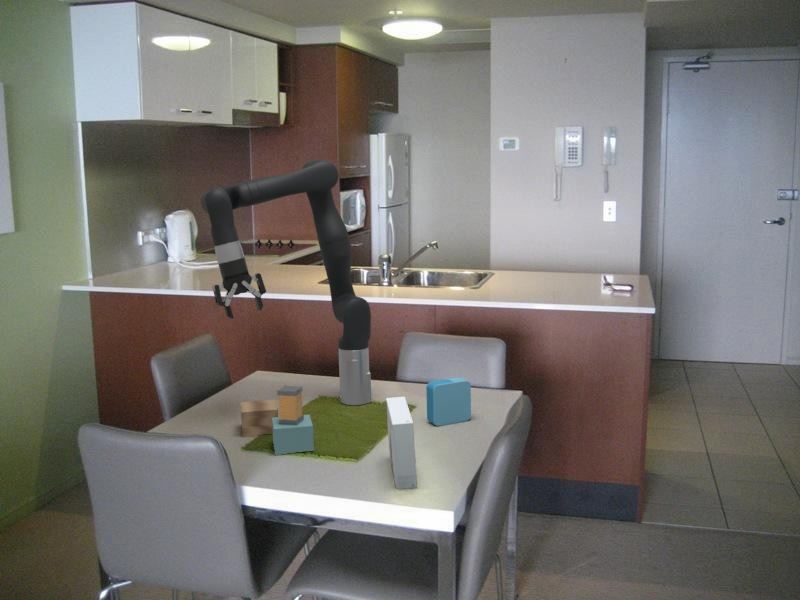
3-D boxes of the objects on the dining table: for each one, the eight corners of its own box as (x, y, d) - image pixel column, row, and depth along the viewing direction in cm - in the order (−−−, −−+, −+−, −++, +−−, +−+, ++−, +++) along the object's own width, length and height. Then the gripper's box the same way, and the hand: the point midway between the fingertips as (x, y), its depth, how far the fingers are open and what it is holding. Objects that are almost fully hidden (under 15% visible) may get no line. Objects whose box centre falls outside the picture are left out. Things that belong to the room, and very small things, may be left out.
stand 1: (277, 422, 246) (275, 399, 244) (279, 433, 236) (277, 409, 235) (241, 425, 244) (240, 402, 242) (242, 437, 234) (240, 412, 233)
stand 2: (310, 439, 231) (309, 414, 229) (314, 451, 221) (313, 425, 220) (273, 442, 229) (271, 417, 228) (275, 455, 219) (273, 429, 218)
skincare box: (387, 457, 216) (385, 397, 213) (408, 456, 216) (407, 395, 213) (393, 490, 195) (392, 423, 192) (417, 488, 195) (416, 422, 193)
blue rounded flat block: (463, 416, 248) (463, 376, 246) (471, 420, 244) (471, 379, 242) (426, 422, 243) (425, 381, 241) (434, 427, 239) (433, 385, 237)
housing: (286, 418, 227) (284, 385, 225) (303, 419, 225) (302, 386, 224) (278, 424, 222) (277, 390, 220) (297, 425, 221) (295, 391, 219)
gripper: (210, 265, 233) (225, 322, 235) (258, 252, 239) (273, 308, 241) (203, 265, 240) (218, 321, 242) (250, 253, 246) (265, 307, 248)
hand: (245, 314), depth 242 cm, fingers open, 8 cm apart
